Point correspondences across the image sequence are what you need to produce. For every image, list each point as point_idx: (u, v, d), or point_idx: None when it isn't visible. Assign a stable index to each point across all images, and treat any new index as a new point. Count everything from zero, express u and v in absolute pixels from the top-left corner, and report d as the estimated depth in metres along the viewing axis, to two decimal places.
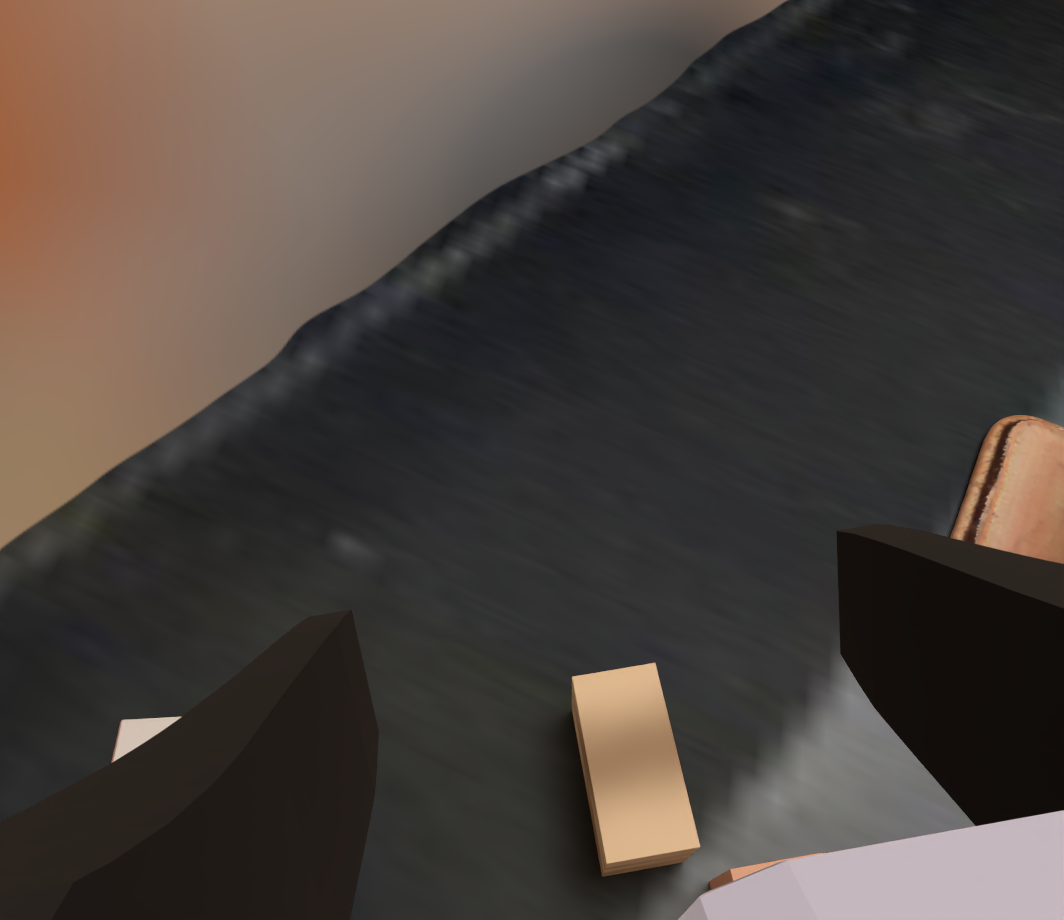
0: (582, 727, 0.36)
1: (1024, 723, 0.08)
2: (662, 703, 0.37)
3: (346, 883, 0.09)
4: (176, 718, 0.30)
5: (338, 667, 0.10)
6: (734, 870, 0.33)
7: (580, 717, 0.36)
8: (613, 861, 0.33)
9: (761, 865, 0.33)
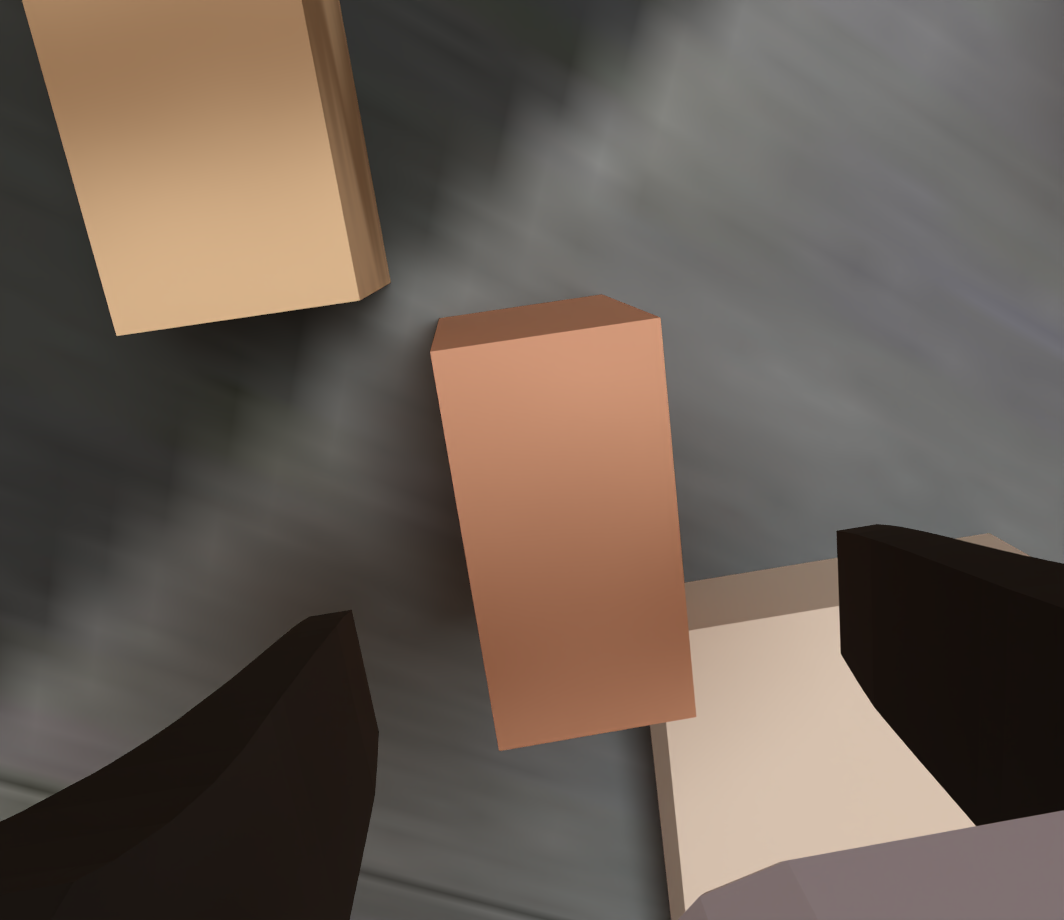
0: None
1: (1024, 723, 0.08)
2: None
3: (346, 883, 0.09)
4: None
5: (338, 667, 0.10)
6: (439, 354, 0.14)
7: None
8: (134, 331, 0.13)
9: (506, 344, 0.14)
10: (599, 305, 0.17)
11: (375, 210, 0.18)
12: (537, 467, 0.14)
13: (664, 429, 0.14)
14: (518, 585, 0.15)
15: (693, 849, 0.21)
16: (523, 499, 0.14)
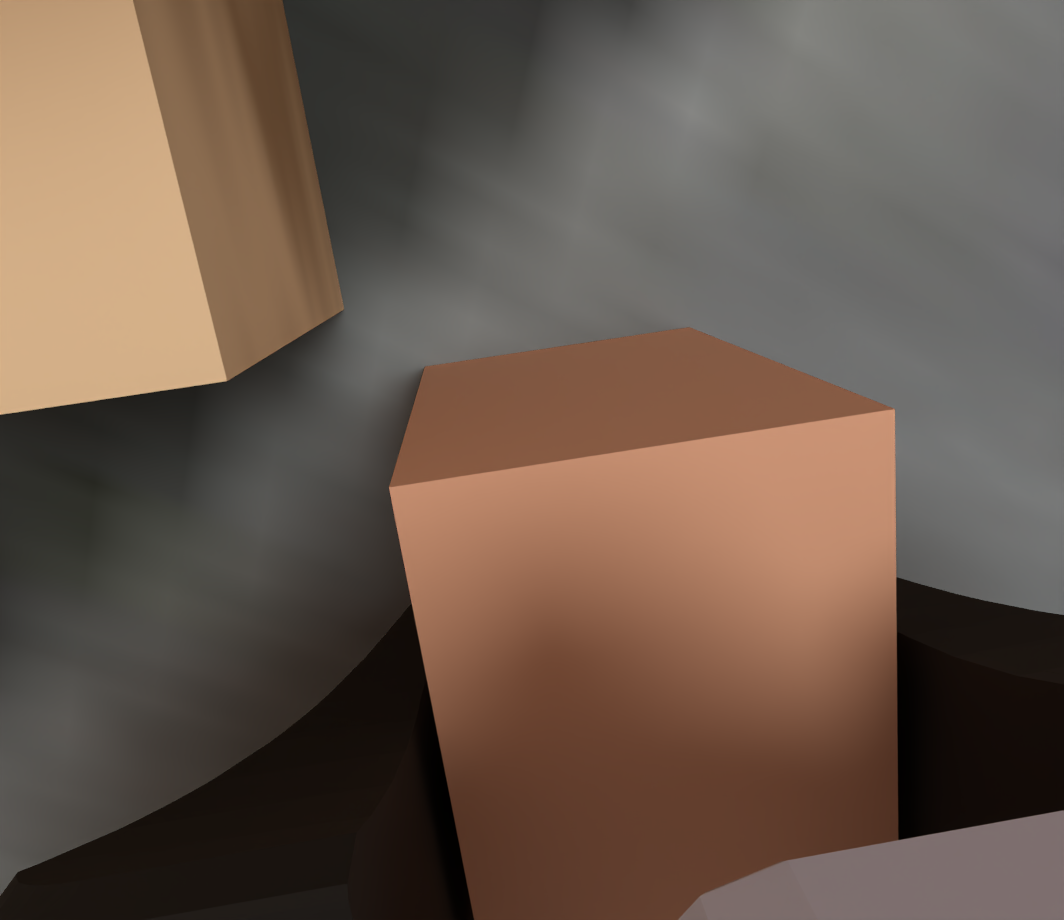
0: None
1: None
2: None
3: None
4: None
5: None
6: (410, 493, 0.06)
7: None
8: None
9: (558, 469, 0.06)
10: (705, 355, 0.10)
11: (314, 188, 0.11)
12: (617, 715, 0.07)
13: (884, 636, 0.07)
14: None
15: None
16: (586, 777, 0.07)
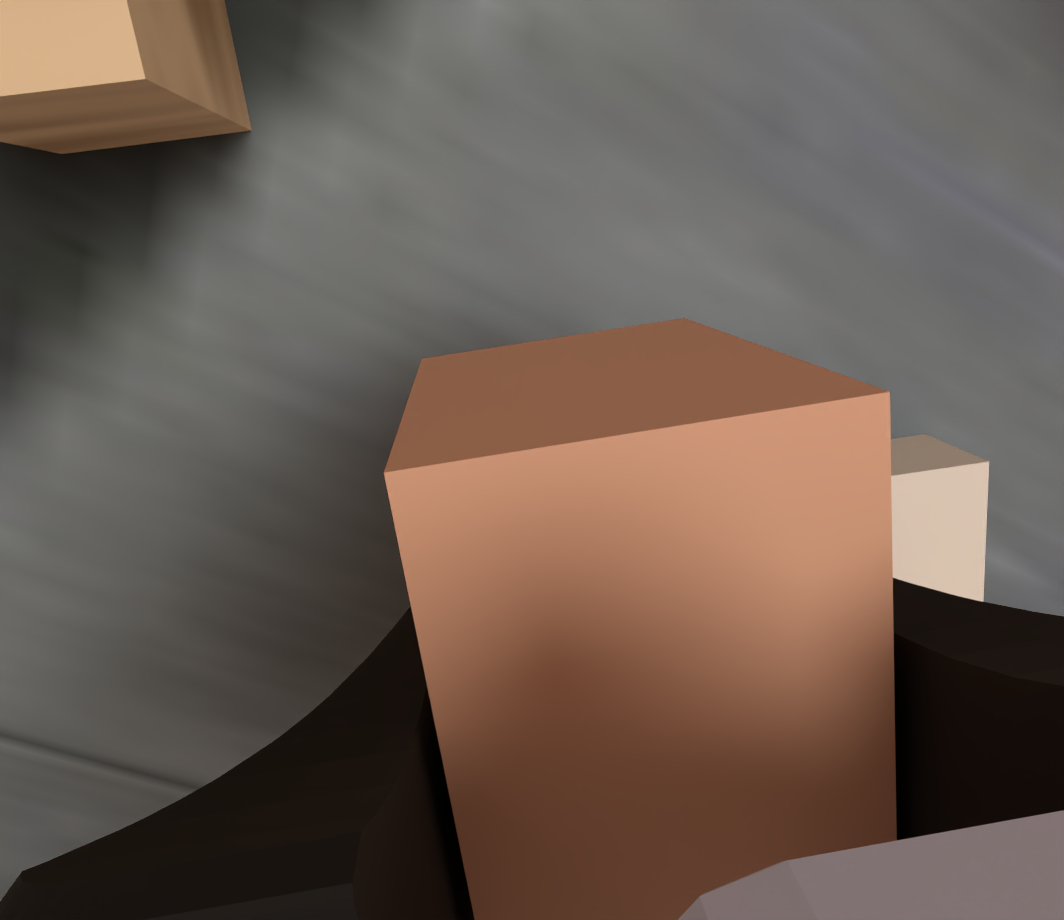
0: None
1: None
2: None
3: None
4: None
5: None
6: (405, 478, 0.06)
7: None
8: None
9: (553, 453, 0.06)
10: (702, 344, 0.10)
11: (227, 41, 0.16)
12: (615, 701, 0.07)
13: (881, 621, 0.07)
14: None
15: None
16: (583, 762, 0.07)
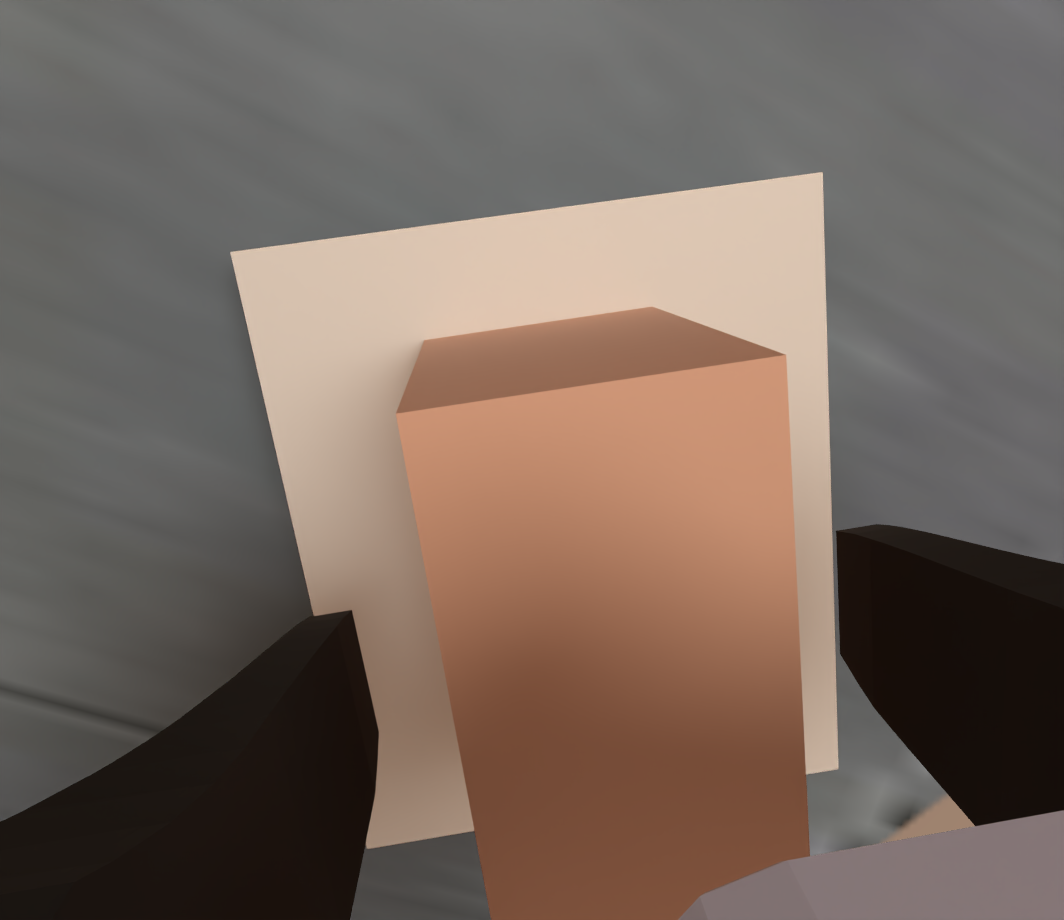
0: None
1: (1023, 723, 0.08)
2: None
3: (346, 883, 0.09)
4: None
5: (338, 667, 0.10)
6: (412, 418, 0.08)
7: None
8: None
9: (525, 400, 0.08)
10: (659, 325, 0.11)
11: None
12: (575, 599, 0.09)
13: (785, 538, 0.09)
14: (542, 781, 0.09)
15: (331, 601, 0.15)
16: (551, 650, 0.09)
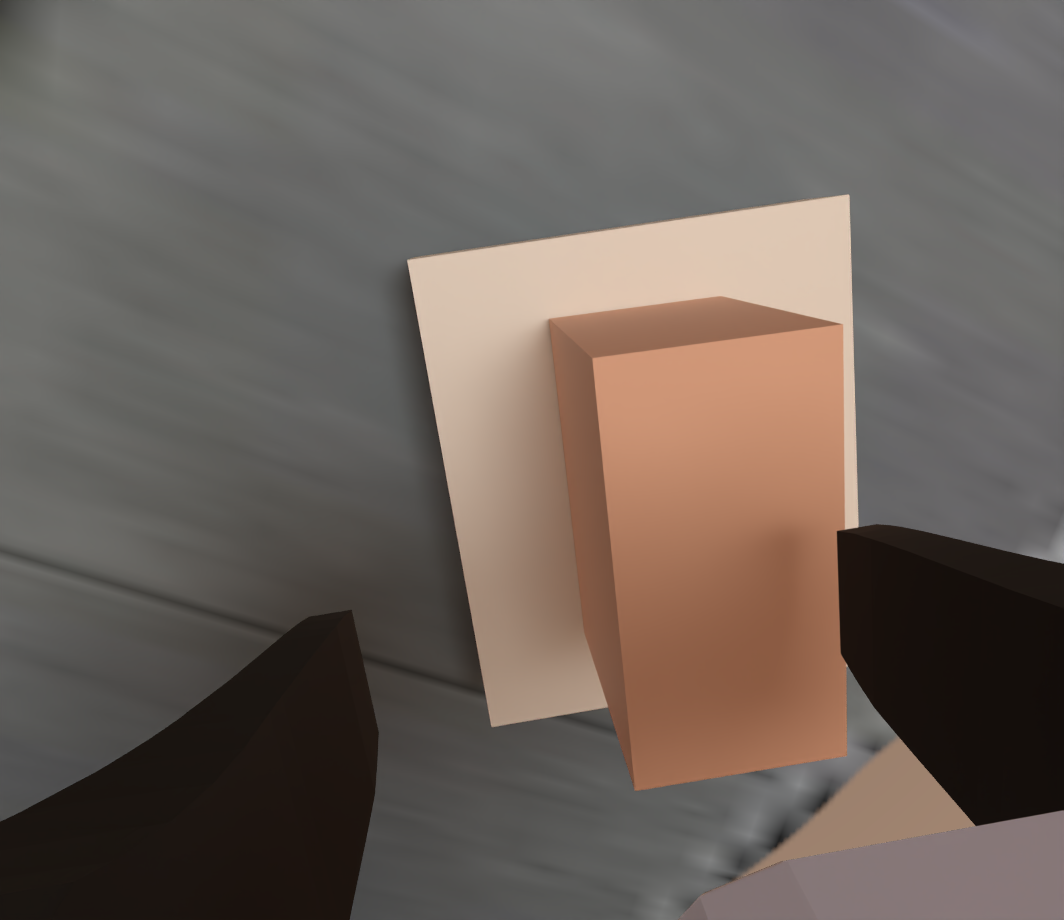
0: None
1: (1024, 723, 0.08)
2: None
3: (346, 883, 0.09)
4: None
5: (338, 667, 0.10)
6: (602, 361, 0.12)
7: None
8: None
9: (675, 351, 0.12)
10: (738, 308, 0.16)
11: None
12: (698, 486, 0.13)
13: (838, 446, 0.13)
14: (668, 613, 0.14)
15: (471, 527, 0.19)
16: (680, 520, 0.13)
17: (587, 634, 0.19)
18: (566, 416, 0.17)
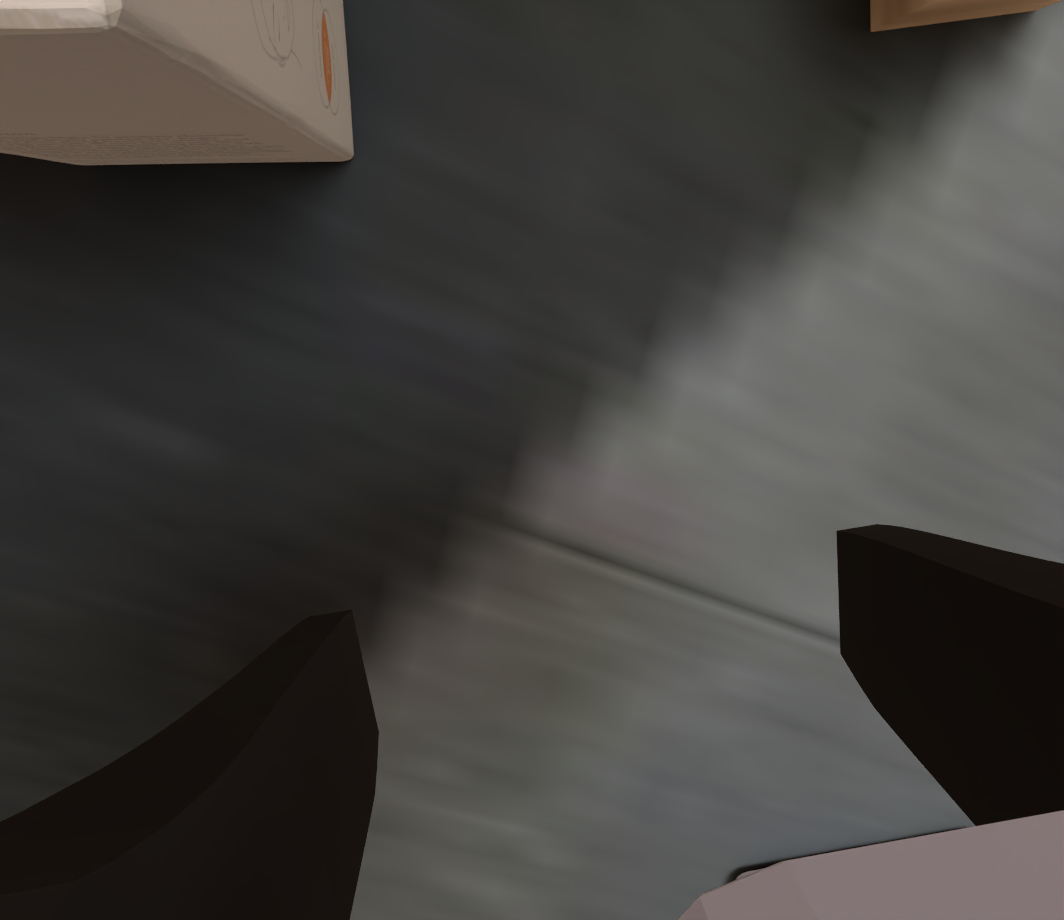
0: None
1: (1024, 723, 0.08)
2: None
3: (346, 883, 0.09)
4: None
5: (338, 667, 0.10)
6: None
7: None
8: None
9: None
10: None
11: None
12: None
13: None
14: None
15: None
16: None
17: None
18: None
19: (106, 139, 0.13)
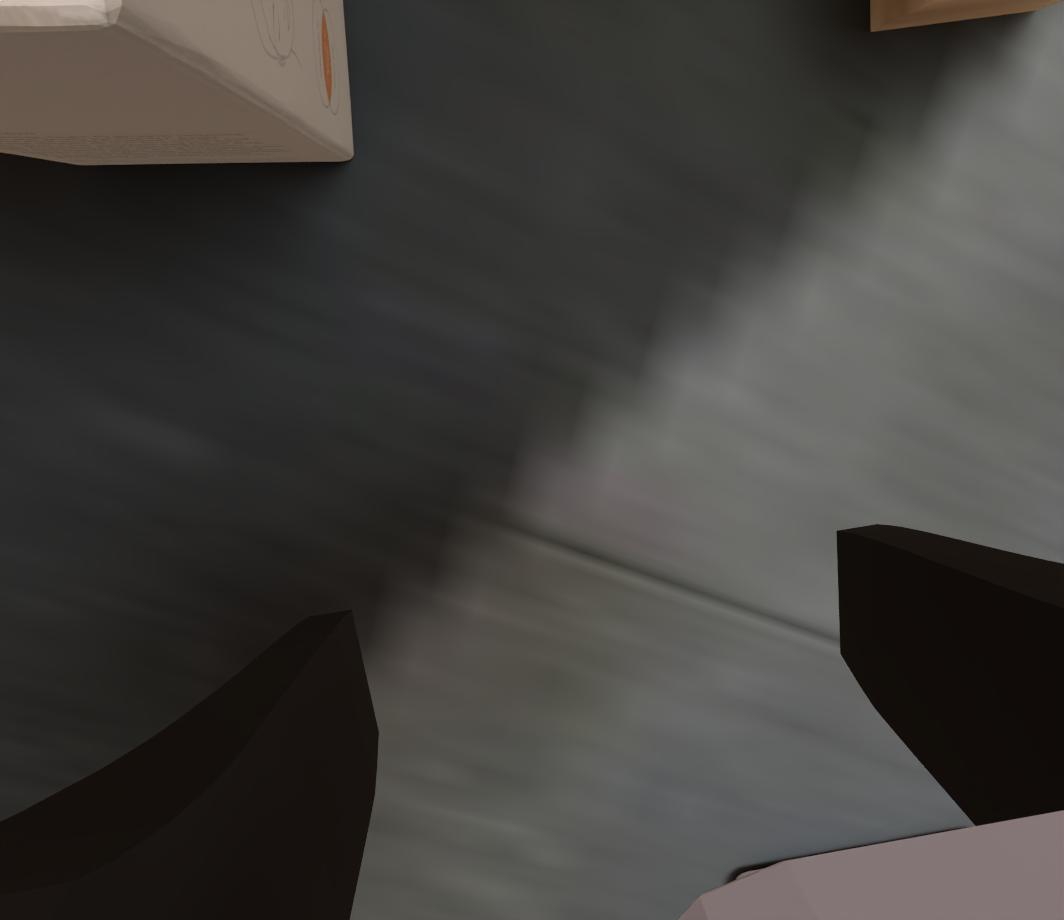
0: None
1: (1024, 723, 0.08)
2: None
3: (346, 883, 0.09)
4: None
5: (338, 667, 0.10)
6: None
7: None
8: None
9: None
10: None
11: None
12: None
13: None
14: None
15: None
16: None
17: None
18: None
19: (106, 138, 0.13)
